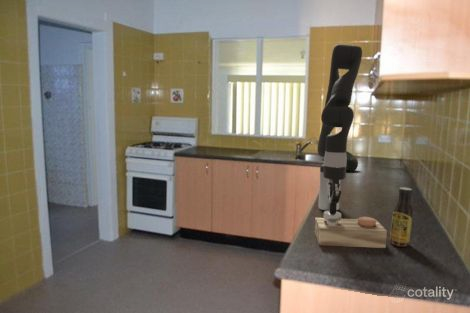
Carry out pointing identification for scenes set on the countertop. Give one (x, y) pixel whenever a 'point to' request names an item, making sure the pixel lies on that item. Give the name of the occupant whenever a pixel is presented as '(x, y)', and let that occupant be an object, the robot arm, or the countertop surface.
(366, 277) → the countertop surface
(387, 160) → the countertop surface
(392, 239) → the sauce bottle
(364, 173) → the countertop surface
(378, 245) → the beech block
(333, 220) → the grey peg
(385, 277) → the countertop surface
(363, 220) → the terracotta peg
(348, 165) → the squash
